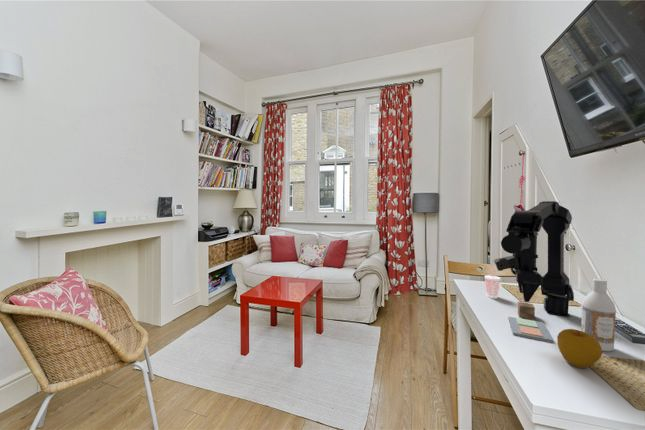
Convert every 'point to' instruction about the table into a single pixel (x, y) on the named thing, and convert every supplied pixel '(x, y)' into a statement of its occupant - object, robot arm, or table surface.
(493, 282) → the beverage cup
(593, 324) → the bath foam
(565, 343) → the apple
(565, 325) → the table surface
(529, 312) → the walnut block
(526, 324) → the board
